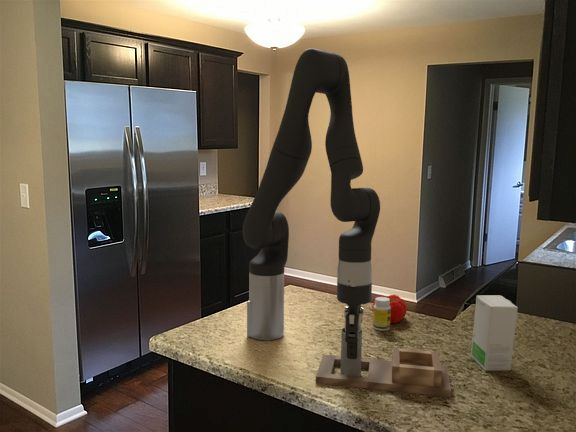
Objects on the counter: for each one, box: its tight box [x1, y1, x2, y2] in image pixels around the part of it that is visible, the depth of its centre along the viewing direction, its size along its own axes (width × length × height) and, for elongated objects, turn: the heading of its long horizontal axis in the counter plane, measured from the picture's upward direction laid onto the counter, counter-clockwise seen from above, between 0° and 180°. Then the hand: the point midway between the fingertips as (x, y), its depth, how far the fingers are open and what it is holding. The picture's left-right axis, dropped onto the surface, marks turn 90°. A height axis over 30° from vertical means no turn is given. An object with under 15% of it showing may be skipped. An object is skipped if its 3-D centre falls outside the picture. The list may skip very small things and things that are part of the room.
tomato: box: [371, 294, 408, 324], centre depth 153 cm, size 10×11×6 cm
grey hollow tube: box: [340, 327, 363, 377], centre depth 117 cm, size 4×4×10 cm
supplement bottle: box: [372, 296, 391, 332], centre depth 146 cm, size 5×5×8 cm
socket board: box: [315, 347, 452, 398], centre depth 116 cm, size 28×12×5 cm, turn 79°
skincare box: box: [470, 294, 519, 372], centre depth 123 cm, size 8×7×16 cm
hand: (353, 350), depth 117 cm, fingers open, 8 cm apart
